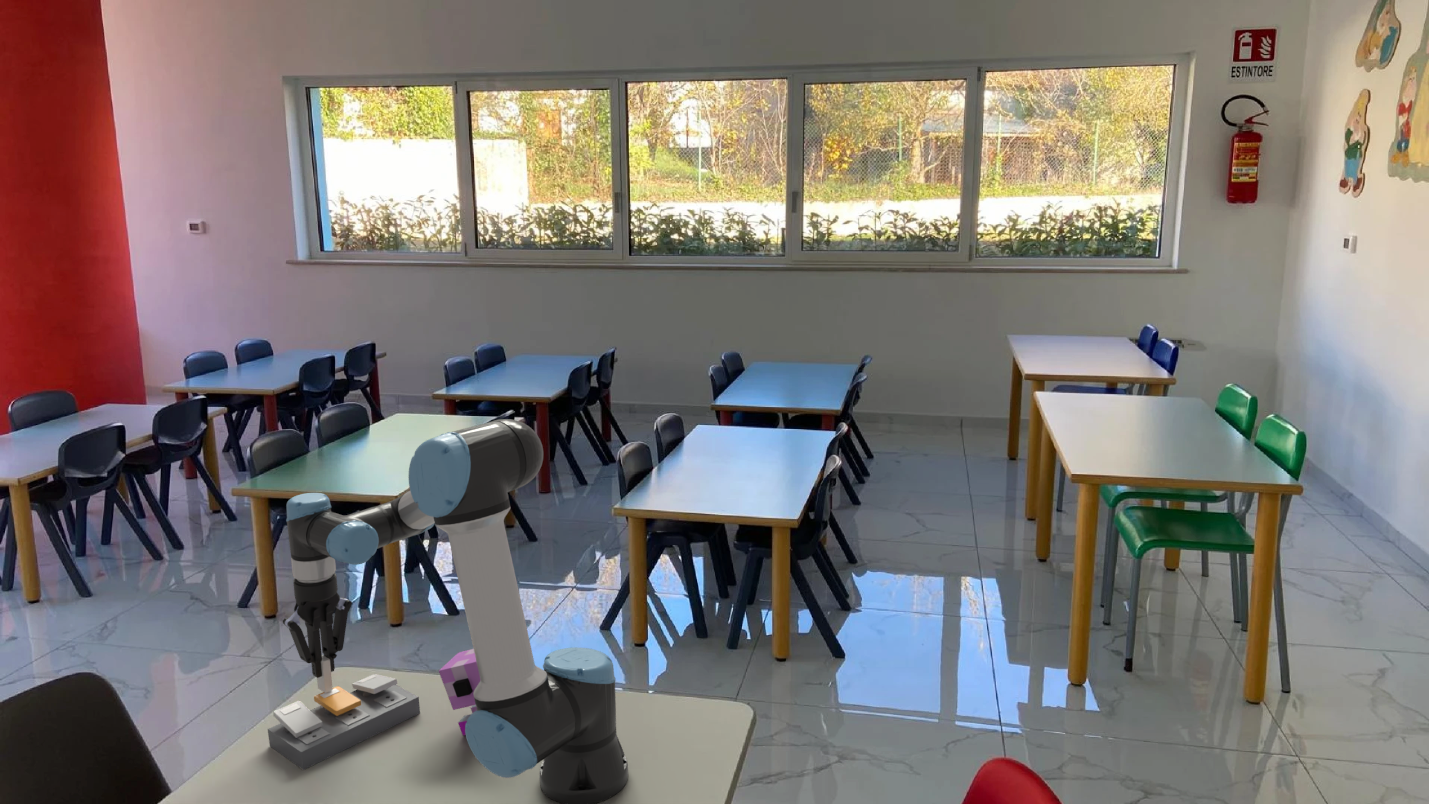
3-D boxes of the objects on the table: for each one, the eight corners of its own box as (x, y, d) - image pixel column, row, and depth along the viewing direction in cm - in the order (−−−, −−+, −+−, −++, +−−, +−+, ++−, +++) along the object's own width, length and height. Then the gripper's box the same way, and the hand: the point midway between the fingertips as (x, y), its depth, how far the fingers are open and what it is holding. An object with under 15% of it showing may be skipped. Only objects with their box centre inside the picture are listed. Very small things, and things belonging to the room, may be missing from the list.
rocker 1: (322, 726, 180) (322, 721, 179) (296, 737, 176) (296, 732, 176) (299, 704, 184) (299, 699, 184) (273, 715, 181) (273, 710, 180)
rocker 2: (361, 704, 186) (360, 699, 185) (336, 716, 182) (336, 710, 182) (338, 690, 191) (338, 685, 190) (314, 700, 187) (313, 695, 187)
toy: (500, 739, 180) (472, 665, 178) (462, 747, 182) (435, 674, 180) (523, 711, 190) (497, 640, 188) (487, 719, 192) (461, 649, 190)
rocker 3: (397, 683, 192) (396, 678, 192) (374, 694, 188) (373, 688, 188) (375, 678, 197) (374, 673, 197) (352, 688, 193) (351, 683, 193)
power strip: (420, 713, 191) (418, 693, 190) (303, 769, 173) (300, 748, 172) (385, 693, 198) (383, 674, 198) (269, 746, 180) (267, 725, 179)
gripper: (336, 559, 190) (345, 669, 196) (270, 580, 180) (282, 696, 186) (357, 569, 185) (366, 682, 191) (291, 592, 176) (303, 710, 181)
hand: (325, 689), depth 188 cm, fingers closed
